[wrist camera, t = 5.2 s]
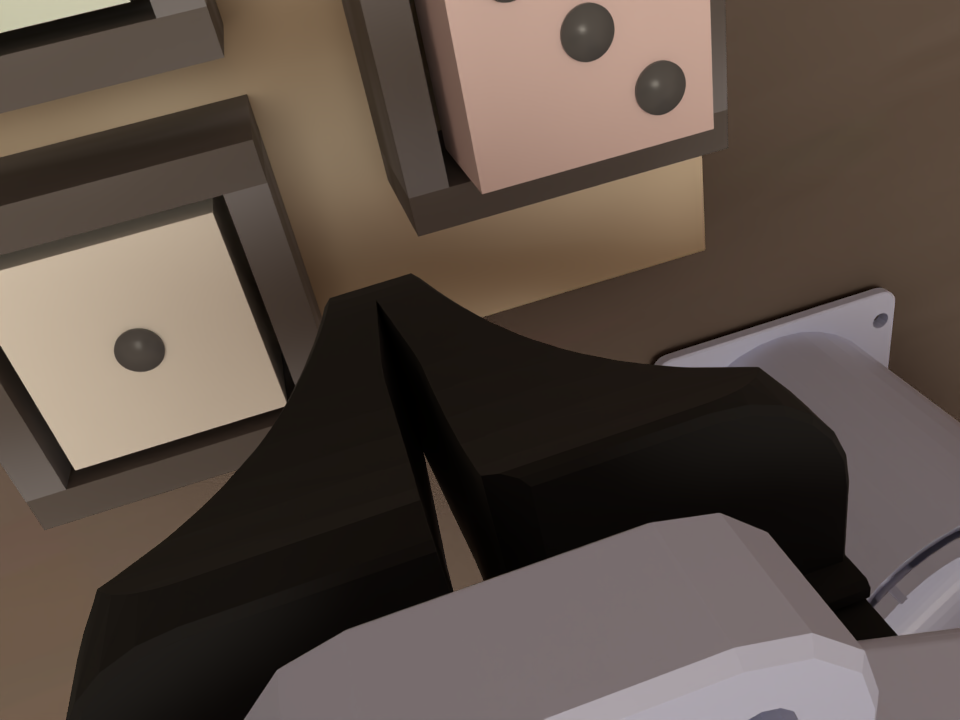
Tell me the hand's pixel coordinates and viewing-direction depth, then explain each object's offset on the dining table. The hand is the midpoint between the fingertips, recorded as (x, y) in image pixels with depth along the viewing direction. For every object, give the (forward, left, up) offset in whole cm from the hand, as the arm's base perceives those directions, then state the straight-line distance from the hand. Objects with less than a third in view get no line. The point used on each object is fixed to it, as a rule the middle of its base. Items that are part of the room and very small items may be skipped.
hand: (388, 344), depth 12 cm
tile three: (+3, -5, -6) cm, 8 cm away
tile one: (-1, +4, -7) cm, 9 cm away
